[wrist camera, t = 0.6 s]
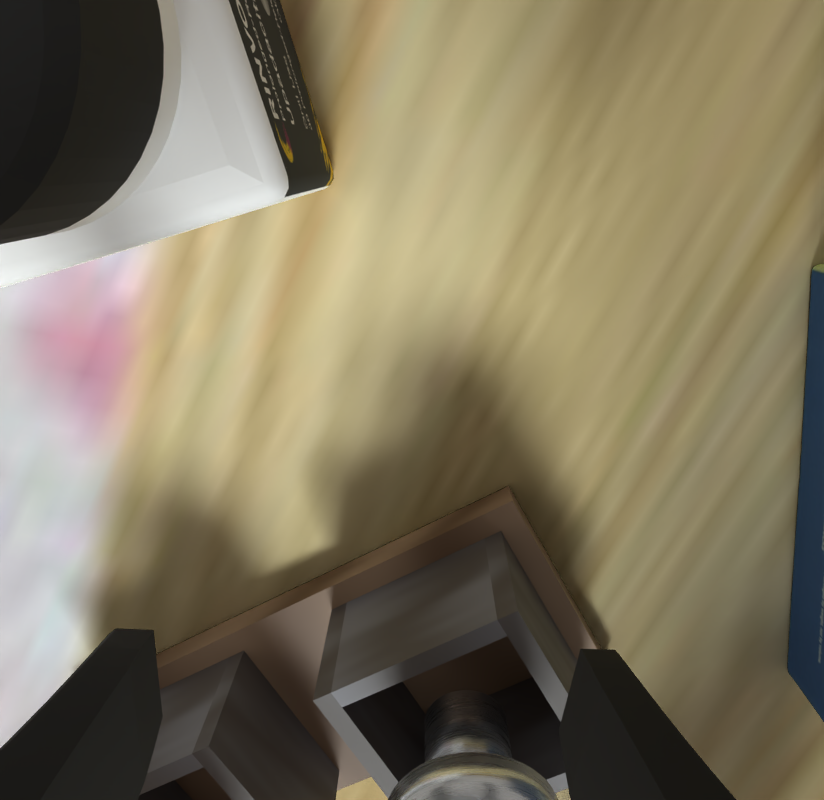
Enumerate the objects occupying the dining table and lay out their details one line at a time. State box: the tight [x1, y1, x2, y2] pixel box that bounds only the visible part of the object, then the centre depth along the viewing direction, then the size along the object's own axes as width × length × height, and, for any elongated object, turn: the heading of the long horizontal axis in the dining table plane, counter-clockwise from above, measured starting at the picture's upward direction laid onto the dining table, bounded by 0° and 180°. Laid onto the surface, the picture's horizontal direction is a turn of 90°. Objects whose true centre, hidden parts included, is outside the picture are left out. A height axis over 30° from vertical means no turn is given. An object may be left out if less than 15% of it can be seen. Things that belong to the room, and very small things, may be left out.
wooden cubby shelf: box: [138, 486, 601, 800], centre depth 22 cm, size 18×8×5 cm, turn 119°
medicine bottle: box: [0, 0, 334, 288], centre depth 12 cm, size 7×7×12 cm
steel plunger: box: [388, 690, 558, 800], centre depth 17 cm, size 4×4×4 cm
